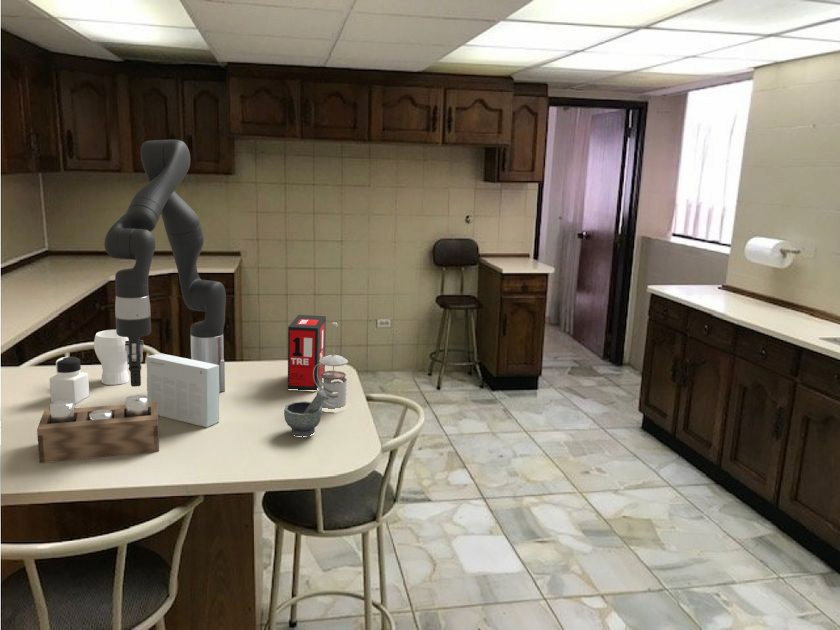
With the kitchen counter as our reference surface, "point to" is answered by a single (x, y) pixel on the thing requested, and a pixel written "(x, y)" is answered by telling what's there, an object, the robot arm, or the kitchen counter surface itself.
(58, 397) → the medicine bottle
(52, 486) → the kitchen counter surface
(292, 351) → the cleaning product box
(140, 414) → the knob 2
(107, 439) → the wooden spice jar rack
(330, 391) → the french press
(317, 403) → the mortar and pestle
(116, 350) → the cup
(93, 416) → the spice jar
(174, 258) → the robot arm
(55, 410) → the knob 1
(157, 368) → the skincare box
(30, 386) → the kitchen counter surface
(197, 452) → the kitchen counter surface
